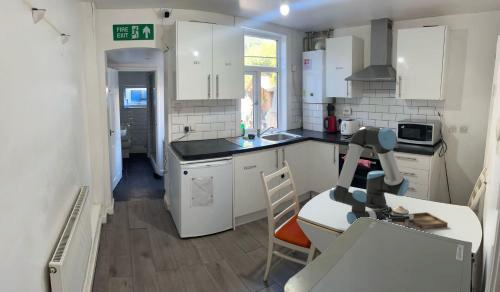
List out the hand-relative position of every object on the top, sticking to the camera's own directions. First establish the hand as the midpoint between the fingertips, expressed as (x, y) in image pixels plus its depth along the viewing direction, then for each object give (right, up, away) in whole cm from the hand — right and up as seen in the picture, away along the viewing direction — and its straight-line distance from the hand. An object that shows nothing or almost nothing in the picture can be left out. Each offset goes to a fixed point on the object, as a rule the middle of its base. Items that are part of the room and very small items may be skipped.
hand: (407, 213), depth 208 cm
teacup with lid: (-4, -7, +1) cm, 8 cm away
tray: (+12, -6, +3) cm, 13 cm away
